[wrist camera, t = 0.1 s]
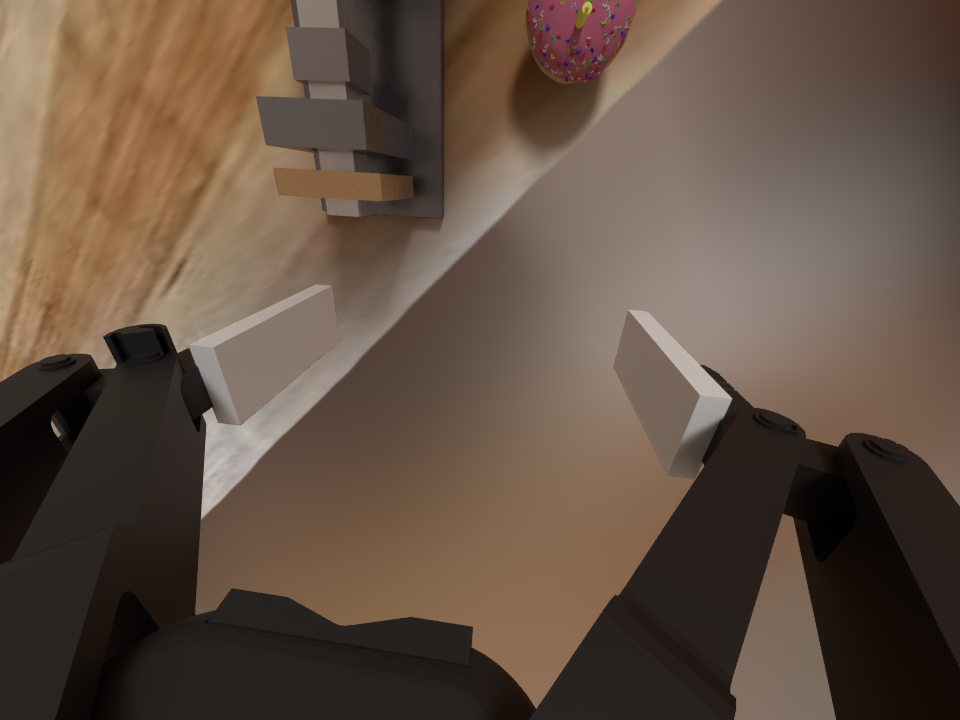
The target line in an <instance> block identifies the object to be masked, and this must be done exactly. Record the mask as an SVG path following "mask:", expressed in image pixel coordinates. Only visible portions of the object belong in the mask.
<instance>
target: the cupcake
mask: <svg viewBox="0 0 960 720" xmlns="http://www.w3.org/2000/svg"><path fill="white" fill-rule="evenodd" d="M636 1H637V0H529V3H528V6H527V11H526V26H527V33H528V39H529V43H530V47H531V51H532V54H533V57H534V59H535V61H536V63H537V65H538V66H539V68H540V69H541V70H542V72H543V73H544V74H545V75H547V76H548V77H550V78H551V79H553V80H554V81H556V82H558V83H561V84H570V83H585V82H588V81H590V80H592V79H594V78H596V77H597V76H599V75H600V74H601V72H602V71H603V70H604V69H605V68H606V67H608V66H609V64H610V63H611V62H612V61H613V59H614V58H615V57H616V55H617V54H618V53H619V51H620V50H621V48H622V47H623V45H624V43H625V41H626V39H627V36H628V33H629V30H630V25H631V22H632V20H633V19H634V18H633V17H634V15H635V9H636Z"/></svg>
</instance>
